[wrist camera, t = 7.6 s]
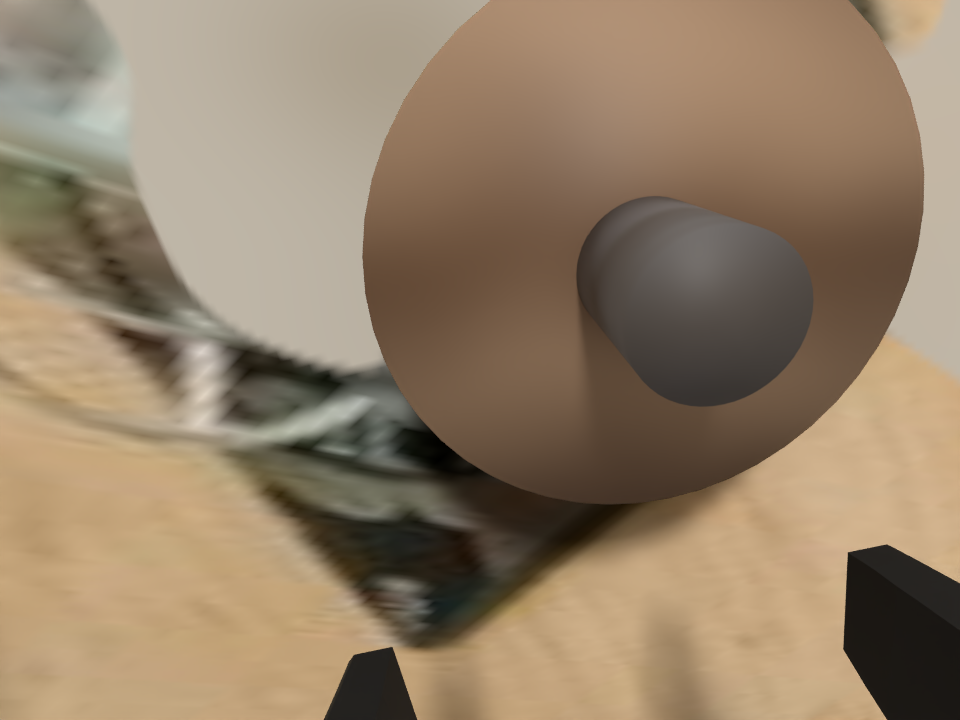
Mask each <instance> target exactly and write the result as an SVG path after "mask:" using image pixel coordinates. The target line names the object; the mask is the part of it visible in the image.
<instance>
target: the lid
mask: <svg viewBox="0 0 960 720" xmlns="http://www.w3.org/2000/svg"><path fill="white" fill-rule="evenodd" d="M923 201H924V167H923V159H922V150H921V142H920V134H919V130H918V126H917V122H916V118H915V114H914V111H913V107H912V103H911V99H910V96H909V95H908V92H907V89H906V87H905V85H904V82H903V80H902V78H901V75H900V73H899V71H898V68H897V66H896V64H895V62H894V60H893V59H892V57H891V56H890V54H889V52H888V51H887V49H886V47H885V46H884V44H883V43H882V41H881V39H880V38H879V36H878V35H877V33H876V31H875V30H874V29H873V28H872V27H871V26H870V24H869V23H868V22H867V21H866V20H865V19H864V18H863V16H862V15H861V14H860V13H859V12H858V11H857V10H856V8H855V7H854V6H853V5H852V4H851V3H850V2H849V1H848V0H490V2H488V3H487V4H486V5H485V6H484V7H483V8H481V9H480V10H479V11H478V12H477V13H476V14H475V15H473V16H472V17H471V18H470V19H469V20H468V21H467V22H465V23H464V24H463V25H462V26H461V27H460V28H459V29H458V30H457V31H456V32H455V33H454V34H453V35H452V36H451V38H450V39H449V40H448V41H447V42H446V43H445V45H444V46H443V47H442V48H441V49H440V50H439V51H438V53H437V54H436V55H435V56H434V57H433V58H432V60H431V61H430V62H429V63H428V64H427V66H426V68H425V69H424V71H423V72H422V74H421V75H420V77H419V78H418V80H417V81H416V83H415V84H414V86H413V87H412V89H411V90H410V92H409V93H408V95H407V96H406V98H405V99H404V101H403V103H402V105H401V107H400V109H399V112H398V114H397V116H396V118H395V120H394V122H393V124H392V126H391V128H390V130H389V132H388V135H387V136H386V139H385V141H384V144H383V147H382V150H381V153H380V157H379V160H378V162H377V166H376V168H375V172H374V175H373V178H372V182H371V187H370V193H369V198H368V204H367V209H366V214H365V221H364V241H363V269H364V282H365V294H366V299H367V303H368V308H369V312H370V317H371V321H372V326H373V330H374V333H375V336H376V338H377V341H378V344H379V347H380V349H381V352H382V355H383V358H384V360H385V363H386V365H387V366H388V368H389V370H390V372H391V374H392V376H393V378H394V380H395V382H396V383H397V385H398V387H399V389H400V391H401V392H402V394H403V395H404V397H405V398H406V399H407V401H408V402H409V404H410V405H411V406H412V408H413V409H414V411H415V412H416V413H417V415H418V416H419V417H420V419H421V420H422V421H423V422H424V423H425V424H426V425H427V426H428V427H429V428H430V429H431V430H432V431H433V432H434V433H435V434H436V435H437V437H438V438H439V439H440V440H441V441H443V442H444V443H445V444H446V445H448V446H449V447H450V448H451V449H452V450H454V451H455V452H456V453H457V454H459V455H460V456H461V457H462V458H464V459H465V460H466V461H468V462H470V463H471V464H473V465H474V466H476V467H478V468H479V469H481V470H483V471H484V472H486V473H487V474H489V475H491V476H493V477H495V478H497V479H499V480H502V481H504V482H506V483H508V484H511V485H513V486H515V487H517V488H520V489H523V490H526V491H529V492H533V493H536V494H539V495H542V496H546V497H550V498H555V499H561V500H566V501H572V502H577V503H592V504H628V503H642V502H648V501H654V500H661V499H667V498H671V497H675V496H679V495H683V494H686V493H690V492H694V491H697V490H701V489H703V488H706V487H708V486H711V485H714V484H716V483H719V482H721V481H724V480H727V479H729V478H731V477H733V476H735V475H737V474H739V473H741V472H743V471H745V470H747V469H749V468H751V467H753V466H755V465H757V464H759V463H760V462H762V461H763V460H765V459H766V458H768V457H770V456H771V455H773V454H774V453H776V452H777V451H779V450H780V449H782V448H784V447H785V446H786V445H788V444H789V443H790V442H792V441H793V440H794V439H795V438H797V437H798V436H799V435H800V434H802V433H803V432H804V431H805V430H807V429H808V428H809V427H810V426H812V425H813V424H814V423H815V422H816V421H817V420H818V419H819V418H820V417H821V416H822V415H823V414H824V413H825V412H826V411H827V410H828V409H829V408H830V407H831V406H832V405H833V404H834V403H835V402H836V401H837V400H838V399H839V398H840V397H841V396H842V394H843V393H844V392H845V391H846V390H847V388H848V387H849V386H850V385H851V384H852V382H853V381H854V380H855V379H856V378H857V376H858V375H859V374H860V372H861V371H862V369H863V368H864V366H865V365H866V363H867V362H868V361H869V359H870V358H871V356H872V355H873V353H874V352H875V350H876V349H877V347H878V346H879V344H880V342H881V340H882V338H883V336H884V334H885V333H886V331H887V329H888V327H889V325H890V323H891V321H892V319H893V317H894V316H895V313H896V311H897V308H898V306H899V303H900V301H901V298H902V296H903V293H904V291H905V288H906V286H907V283H908V281H909V277H910V273H911V269H912V266H913V262H914V259H915V255H916V251H917V247H918V242H919V235H920V229H921V222H922V215H923Z"/></svg>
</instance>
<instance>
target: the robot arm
mask: <svg viewBox="0 0 960 720" xmlns="http://www.w3.org/2000/svg"><path fill="white" fill-rule="evenodd" d="M843 649H844V651H845V653H846V654H847V656H848V658H849V659H850V661H851V663H852V664H853V666H854V668H855V669H856V671H857V673H858V674H859V676H860V678H861V679H862V681H863V683H864V684H865V686H866V687H867V689H868V691H869V692H870V694H871V695H872V697H873V698H874V700H875V702H876V703H877V705H878V706H879V708H880V709H881V711H882V712H883V714H884V716H885V717H886V719H887V720H960V583H958V582H956V581H954V580H953V579H951V578H949V577H947V576H945V575H943V574H942V573H940V572H938V571H936V570H934V569H932V568H931V567H929V566H927V565H925V564H923V563H921V562H919V561H918V560H916V559H914V558H912V557H910V556H908V555H906V554H904V553H903V552H901V551H899V550H897V549H895V548H893V547H891V546H889V545H882V546H877V547H872V548H867V549H863V550H858V551H853V552H848V562H847V583H846V605H845V626H844V648H843ZM324 720H417V718H416V715H415V712H414V709H413V706H412V703H411V700H410V697H409V694H408V691H407V688H406V685H405V683H404V680H403V677H402V674H401V671H400V668H399V665H398V662H397V659H396V656H395V653H394V650H393V647H390V648H385V649H380V650H375V651H371V652H366V653H361V654H356V655H354V656H353V657H352V659H351V660H350V661H349V663H348V666H347V668H346V670H345V673H344V675H343V677H342V680H341V682H340V684H339V687H338V689H337V691H336V693H335V696H334V698H333V700H332V703H331V705H330V707H329V709H328V712H327V714H326V716H325V718H324Z"/></svg>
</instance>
